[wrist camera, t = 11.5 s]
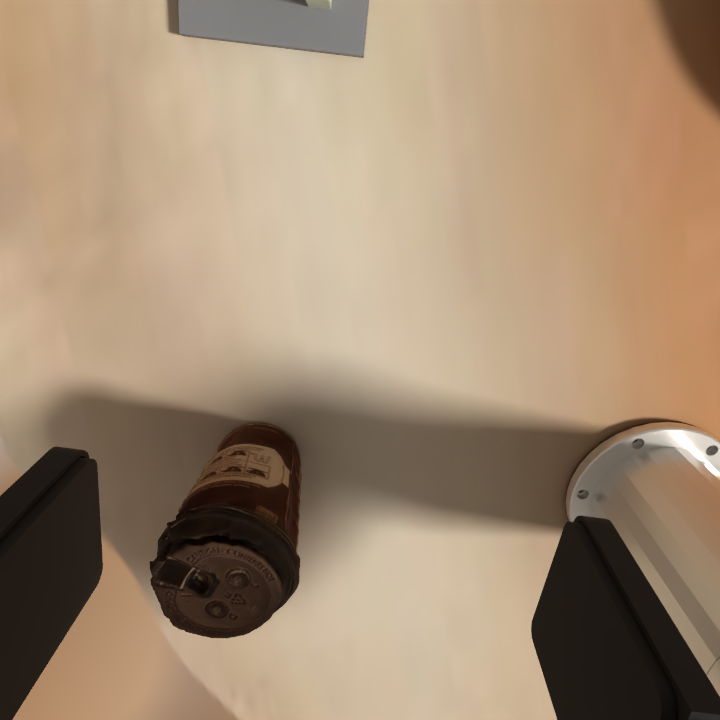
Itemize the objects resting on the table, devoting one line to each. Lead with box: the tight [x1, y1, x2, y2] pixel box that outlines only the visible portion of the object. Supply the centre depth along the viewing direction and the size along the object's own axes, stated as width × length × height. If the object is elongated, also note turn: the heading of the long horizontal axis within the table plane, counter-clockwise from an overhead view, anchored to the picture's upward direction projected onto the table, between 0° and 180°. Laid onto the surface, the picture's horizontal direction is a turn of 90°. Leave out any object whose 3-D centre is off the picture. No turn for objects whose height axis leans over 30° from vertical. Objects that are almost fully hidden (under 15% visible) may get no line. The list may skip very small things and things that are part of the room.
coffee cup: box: [150, 424, 301, 638], centre depth 35 cm, size 9×8×13 cm
